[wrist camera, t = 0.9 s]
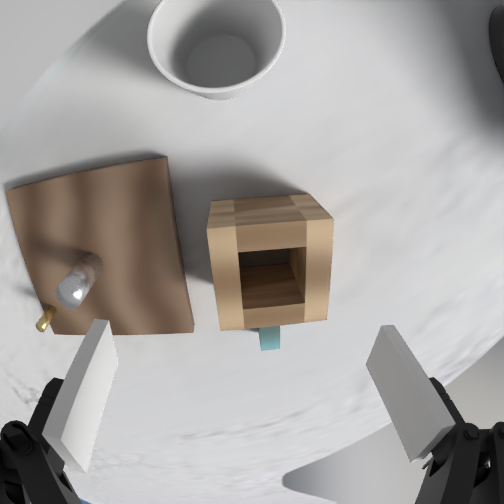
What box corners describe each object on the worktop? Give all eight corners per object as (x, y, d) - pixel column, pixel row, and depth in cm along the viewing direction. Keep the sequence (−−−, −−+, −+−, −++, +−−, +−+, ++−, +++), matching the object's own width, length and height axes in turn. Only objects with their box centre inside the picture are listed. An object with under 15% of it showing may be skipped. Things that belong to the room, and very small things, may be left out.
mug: (241, 115, 24) (252, 113, 14) (169, 88, 23) (125, 70, 12) (287, 19, 21) (328, -38, 10) (216, -7, 19) (211, -77, 8)
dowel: (54, 305, 29) (41, 323, 26) (58, 313, 30) (46, 332, 27) (47, 305, 29) (34, 323, 26) (50, 313, 30) (38, 332, 27)
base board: (167, 156, 25) (163, 158, 24) (194, 323, 33) (193, 332, 32) (13, 187, 25) (5, 191, 23) (59, 326, 32) (54, 334, 31)
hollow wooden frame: (211, 201, 28) (206, 228, 21) (309, 193, 28) (333, 218, 22) (227, 335, 34) (228, 381, 28) (306, 327, 34) (320, 370, 28)
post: (99, 251, 27) (75, 283, 22) (106, 274, 28) (84, 308, 23) (78, 253, 27) (51, 284, 22) (85, 275, 28) (61, 309, 23)
